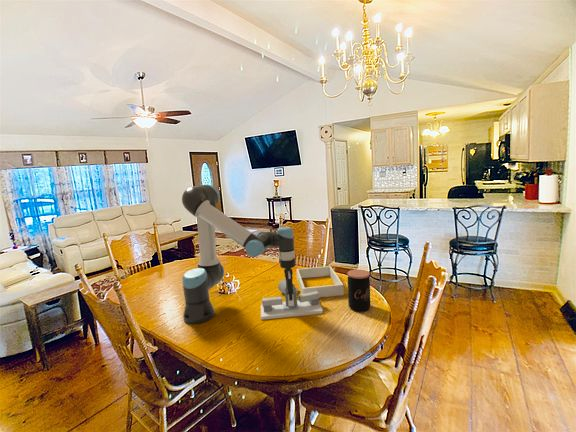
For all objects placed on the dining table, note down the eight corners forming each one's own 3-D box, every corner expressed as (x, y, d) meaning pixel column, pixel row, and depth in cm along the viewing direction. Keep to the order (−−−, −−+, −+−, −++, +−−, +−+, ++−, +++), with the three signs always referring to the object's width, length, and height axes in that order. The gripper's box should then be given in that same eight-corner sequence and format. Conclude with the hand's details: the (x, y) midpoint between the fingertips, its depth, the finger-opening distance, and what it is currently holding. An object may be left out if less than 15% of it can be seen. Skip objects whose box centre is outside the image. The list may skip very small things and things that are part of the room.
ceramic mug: (285, 298, 174) (284, 284, 172) (278, 293, 181) (277, 280, 179) (301, 293, 179) (301, 280, 178) (294, 288, 186) (293, 276, 185)
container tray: (303, 299, 171) (303, 288, 170) (297, 278, 202) (296, 269, 201) (343, 295, 172) (343, 284, 171) (330, 274, 204) (330, 265, 203)
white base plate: (261, 319, 151) (259, 306, 150) (261, 306, 165) (260, 294, 164) (322, 313, 153) (322, 299, 152) (317, 301, 167) (317, 288, 166)
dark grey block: (297, 305, 156) (296, 290, 155) (286, 306, 156) (284, 291, 154) (296, 300, 161) (294, 286, 160) (285, 301, 161) (284, 287, 160)
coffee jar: (354, 314, 150) (353, 278, 147) (344, 304, 161) (343, 271, 158) (374, 310, 153) (373, 274, 150) (363, 301, 163) (362, 267, 160)
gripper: (297, 263, 146) (300, 310, 150) (293, 252, 164) (296, 294, 168) (280, 265, 145) (284, 312, 149) (278, 254, 163) (282, 296, 167)
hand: (290, 302), depth 158 cm, fingers closed on dark grey block, 5 cm apart
